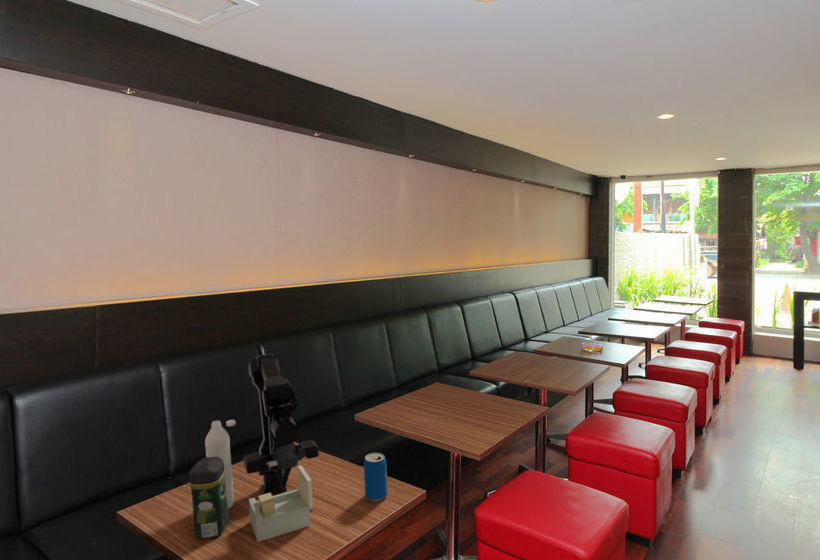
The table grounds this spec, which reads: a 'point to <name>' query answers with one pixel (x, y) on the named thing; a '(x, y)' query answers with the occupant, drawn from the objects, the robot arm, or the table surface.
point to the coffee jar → (209, 497)
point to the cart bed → (279, 516)
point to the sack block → (266, 505)
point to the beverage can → (375, 476)
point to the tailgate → (305, 487)
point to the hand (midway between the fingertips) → (283, 486)
